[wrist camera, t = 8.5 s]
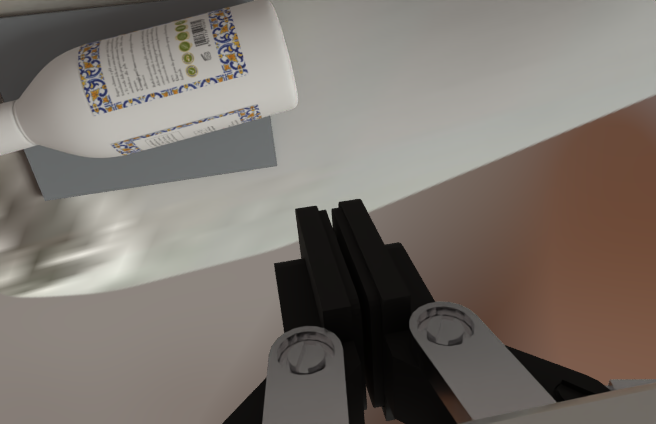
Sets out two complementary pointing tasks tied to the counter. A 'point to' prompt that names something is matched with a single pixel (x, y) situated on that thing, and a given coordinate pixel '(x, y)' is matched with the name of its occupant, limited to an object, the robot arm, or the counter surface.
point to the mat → (141, 167)
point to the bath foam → (156, 85)
